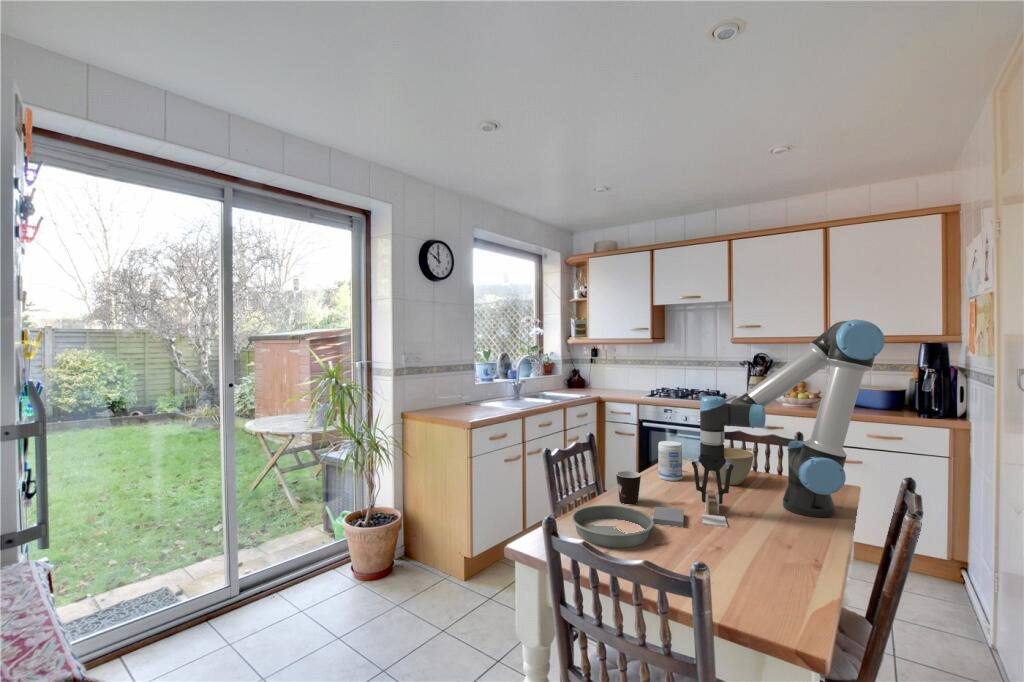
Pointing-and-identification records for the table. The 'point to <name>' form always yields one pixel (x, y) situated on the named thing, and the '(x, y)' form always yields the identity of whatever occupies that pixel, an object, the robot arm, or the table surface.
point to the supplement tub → (670, 460)
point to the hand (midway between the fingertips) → (711, 512)
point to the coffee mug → (628, 486)
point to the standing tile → (668, 516)
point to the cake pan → (608, 533)
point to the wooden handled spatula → (713, 512)
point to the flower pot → (736, 465)
